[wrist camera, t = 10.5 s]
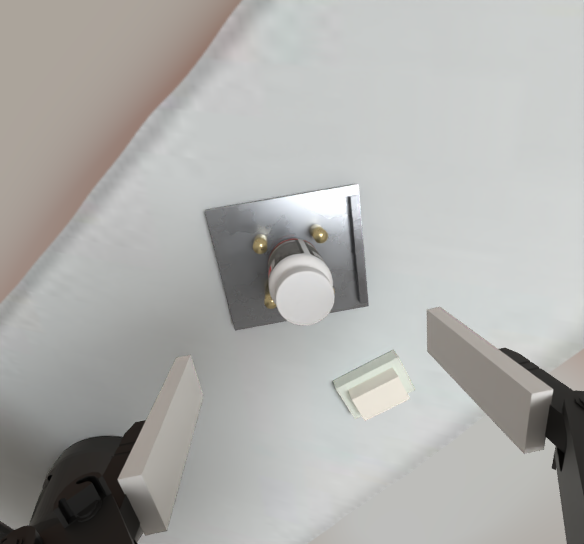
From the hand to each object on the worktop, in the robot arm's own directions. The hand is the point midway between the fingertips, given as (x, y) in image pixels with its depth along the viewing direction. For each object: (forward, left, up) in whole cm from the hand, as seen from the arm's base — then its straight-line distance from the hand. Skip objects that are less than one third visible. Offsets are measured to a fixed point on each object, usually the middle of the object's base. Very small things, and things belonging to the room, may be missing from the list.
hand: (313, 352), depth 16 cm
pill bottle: (0, 0, -17) cm, 17 cm away
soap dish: (+8, -19, -18) cm, 28 cm away
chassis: (0, 0, -18) cm, 18 cm away
